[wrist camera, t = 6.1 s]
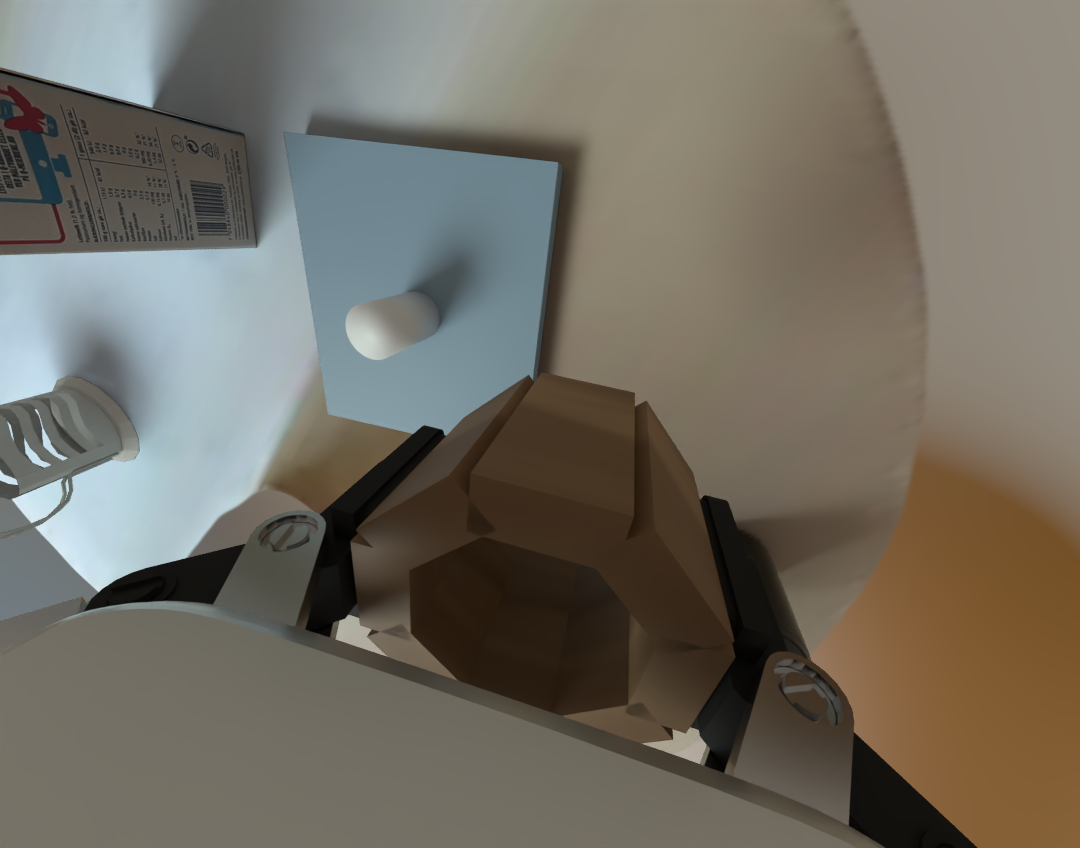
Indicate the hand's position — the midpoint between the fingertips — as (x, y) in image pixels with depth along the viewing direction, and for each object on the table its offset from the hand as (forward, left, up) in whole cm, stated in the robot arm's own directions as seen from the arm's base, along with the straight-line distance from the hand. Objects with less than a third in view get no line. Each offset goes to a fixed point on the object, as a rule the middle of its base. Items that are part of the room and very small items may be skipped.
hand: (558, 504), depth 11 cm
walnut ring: (0, 0, -1) cm, 1 cm away
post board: (+1, +12, -16) cm, 20 cm away
